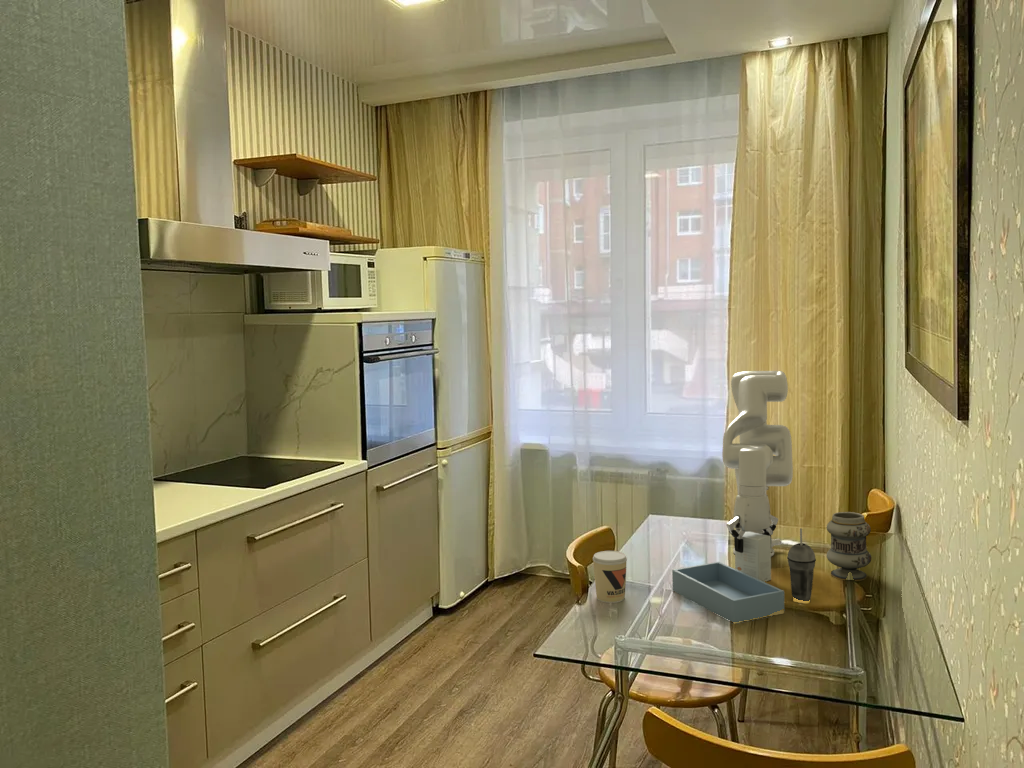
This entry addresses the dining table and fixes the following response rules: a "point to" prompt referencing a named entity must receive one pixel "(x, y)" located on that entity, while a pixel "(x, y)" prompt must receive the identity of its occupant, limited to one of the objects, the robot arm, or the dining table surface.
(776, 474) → the robot arm
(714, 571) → the tray
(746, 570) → the small box
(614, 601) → the cream lidded tub
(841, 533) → the apothecary jar
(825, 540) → the dining table surface
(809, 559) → the beverage cup
